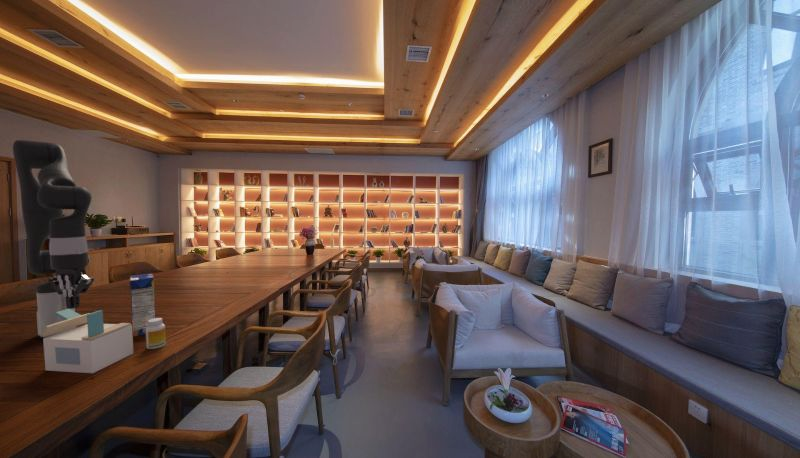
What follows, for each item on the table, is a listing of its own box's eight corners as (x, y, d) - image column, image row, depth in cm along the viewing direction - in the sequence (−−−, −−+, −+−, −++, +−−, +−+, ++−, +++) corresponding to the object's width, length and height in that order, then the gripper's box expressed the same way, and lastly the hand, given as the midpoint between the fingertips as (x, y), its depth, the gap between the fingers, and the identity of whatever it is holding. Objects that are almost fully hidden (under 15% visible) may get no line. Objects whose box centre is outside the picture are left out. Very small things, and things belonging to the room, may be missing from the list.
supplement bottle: (169, 343, 104) (168, 318, 104) (152, 350, 99) (151, 323, 99) (159, 341, 106) (158, 316, 106) (142, 348, 101) (141, 321, 100)
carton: (45, 370, 87) (42, 338, 86) (91, 351, 99) (89, 323, 98) (92, 373, 85) (90, 341, 85) (133, 353, 97) (131, 324, 97)
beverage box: (133, 336, 110) (129, 280, 109) (133, 327, 118) (130, 275, 117) (156, 331, 115) (153, 277, 113) (155, 323, 123) (152, 273, 121)
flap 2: (81, 339, 85) (80, 314, 85) (121, 324, 97) (119, 302, 96) (92, 339, 85) (90, 315, 85) (130, 324, 96) (129, 302, 96)
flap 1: (90, 313, 97) (71, 303, 98) (47, 326, 86) (26, 315, 87) (87, 322, 98) (68, 312, 98) (43, 336, 87) (23, 325, 87)
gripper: (33, 253, 83) (37, 311, 84) (73, 254, 82) (77, 313, 83) (65, 250, 91) (69, 303, 92) (102, 250, 89) (106, 304, 91)
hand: (73, 307), depth 87 cm, fingers closed
